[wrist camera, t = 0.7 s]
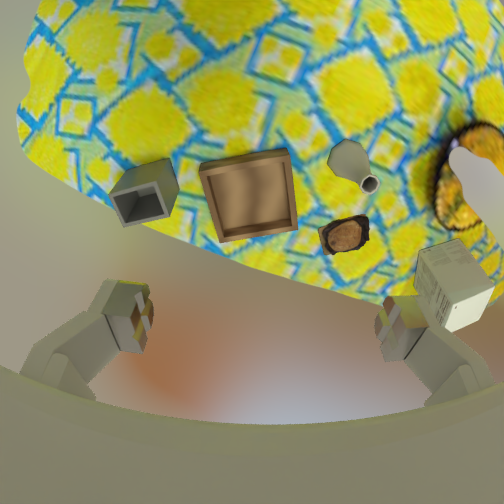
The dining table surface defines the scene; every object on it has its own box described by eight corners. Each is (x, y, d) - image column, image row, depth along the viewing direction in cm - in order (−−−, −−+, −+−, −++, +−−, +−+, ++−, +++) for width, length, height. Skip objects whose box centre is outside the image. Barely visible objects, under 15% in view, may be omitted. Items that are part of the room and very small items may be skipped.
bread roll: (323, 255, 59) (327, 266, 56) (315, 223, 54) (320, 235, 51) (369, 241, 57) (375, 252, 55) (366, 208, 52) (373, 219, 49)
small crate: (138, 199, 48) (123, 227, 41) (127, 169, 44) (108, 194, 37) (179, 188, 47) (169, 216, 40) (169, 157, 44) (156, 180, 37)
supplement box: (412, 286, 67) (438, 338, 54) (418, 249, 59) (453, 305, 45) (450, 273, 65) (479, 320, 52) (459, 237, 57) (496, 285, 44)
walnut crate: (220, 231, 53) (219, 243, 51) (200, 163, 45) (198, 171, 42) (294, 219, 52) (298, 229, 50) (286, 147, 44) (289, 155, 41)
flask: (319, 164, 46) (337, 192, 38) (343, 131, 42) (367, 152, 34) (350, 184, 48) (371, 214, 41) (374, 154, 44) (400, 178, 37)
